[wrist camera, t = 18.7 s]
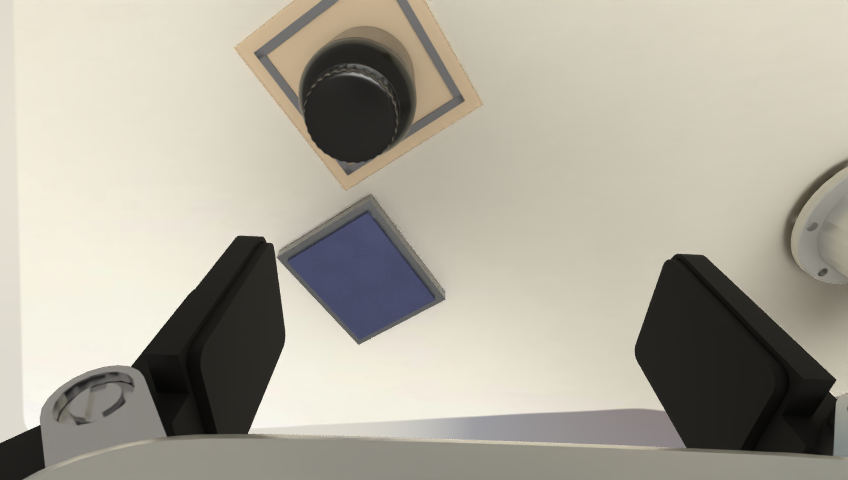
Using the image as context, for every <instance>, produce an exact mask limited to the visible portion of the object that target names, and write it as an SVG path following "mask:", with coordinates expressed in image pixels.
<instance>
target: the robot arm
mask: <svg viewBox="0 0 848 480" xmlns="http://www.w3.org/2000/svg"><path fill="white" fill-rule="evenodd" d="M791 250H792V255H793V257H794V259H795V262H796V263H797V264H798V265H799V267H800V268H801V269H802V270H803V271H805V272H806V273H808V274H809V275H810V276H812V277H813V278H815V279H818V280H820V281H822V282H826V283H831V284H848V167H846V168H844V169H843V170H841V171H839V172H838V173H837V174H835V175H834V176H833V177H831V178H830V179H829V180H828V181H826V182H825V183H824V184H823V185H822V186H821V187H820V188H819V189H818V190H817V191H816V192H815V193H814V194H813V195H812V196H811V198H810V199H809V200H808V202H807V203H806V204H805V205H804V207H803V209H802V210H801V212H800V214H799V216H798V218H797V219H796V222H795V225H794V228H793V231H792V236H791ZM284 343H285V326H284V319H283V311H282V304H281V296H280V289H279V281H278V274H277V266H276V258H275V251H274V246H273V244H272V243H266V240H265V238H264V237H258V236H237V237H236V238H235V240H234V241H233V242H232V243H231V245H230V246H229V247H228V248H227V250H226V251H225V252H224V253H223V255H222V256H221V257H220V258H219V260H218V261H217V262H216V263H215V265H214V266H213V267H212V268H211V270H210V271H209V272H208V274H207V275H206V276H205V277H204V279H203V280H202V281H201V282H200V284H199V285H198V286H197V287H196V289H194V290H193V291H192V292H191V293H190V294H189V295H188V296H187V297H186V299H185V300H184V301H183V302H182V304H181V305H180V306H179V307H178V309H177V310H176V311H175V312H174V314H173V315H172V316H171V317H170V319H169V320H168V321H167V322H166V324H165V325H164V326H163V327H162V329H161V330H160V331H159V332H158V334H157V335H156V336H155V337H154V339H153V340H152V341H151V342H150V344H149V345H148V346H147V347H146V349H145V350H144V351H143V352H142V354H141V355H140V356H139V357H138V359H137V360H136V361H135V362H134V364H133V365H132V366H131V367H129V366H120V365H117V366H108V367H102V368H98V369H95V370H92V371H88V372H86V373H84V374H82V375H79V376H77V377H75V378H73V379H72V380H70V381H68V382H67V383H65V384H64V385H62V386H61V387H59V388H58V389H57V390H56V391H55V392H54V393H53V394H52V395H51V396H50V397H49V398H48V399H47V401H46V403H45V404H44V406H43V407H42V410H41V415H40V424H41V425H39V426H37V427H35V428H33V429H30V430H28V431H26V432H24V433H22V434H19V435H17V436H15V437H13V438H11V439H8V440H6V441H4V442H2V443H0V480H848V393H846V394H844V395H842V396H839V397H838V399H836V398H835V397H834V396H833V395H832V394H831V393H830V392H829V390H830V389H831V387H832V386H833V384H834V383H835V381H836V379H835V378H834V377H833V376H832V375H831V374H830V373H829V372H827V371H826V370H825V369H824V368H823V367H822V366H821V365H820V364H819V363H818V362H817V361H816V360H815V359H814V358H813V357H812V356H810V355H809V354H808V353H807V352H806V351H805V350H804V349H803V348H802V347H801V346H800V345H799V344H798V343H797V342H796V341H795V340H793V339H792V338H791V337H790V336H789V335H788V334H787V333H786V332H785V331H784V330H783V329H782V328H781V327H780V326H779V325H778V324H776V323H775V322H774V321H773V320H772V319H771V318H770V317H769V316H768V315H767V314H766V313H765V312H764V311H763V310H762V309H761V308H759V307H758V306H757V305H756V304H755V303H754V302H753V301H752V300H751V299H750V298H749V297H748V296H747V295H746V294H745V293H744V292H742V291H741V290H740V289H739V288H738V287H737V286H736V285H735V284H734V283H733V282H732V281H731V280H730V279H729V278H728V277H727V276H725V275H724V274H723V273H722V272H721V271H720V270H719V269H718V268H717V267H716V266H715V265H714V264H713V263H712V262H711V261H710V260H708V259H707V258H706V257H705V256H703V255H691V254H676V255H674V256H673V257H672V258H671V260H667V261H666V262H665V263H664V265H663V267H662V270H661V273H660V276H659V279H658V282H657V285H656V288H655V290H654V293H653V296H652V299H651V302H650V305H649V308H648V311H647V313H646V316H645V319H644V322H643V325H642V328H641V331H640V334H639V336H638V339H637V342H636V345H635V356H636V360H637V362H638V364H639V365H640V367H641V369H642V371H643V372H644V374H645V376H646V378H647V379H648V381H649V383H650V385H651V386H652V388H653V390H654V392H655V393H656V395H657V397H658V399H659V400H660V402H661V404H662V406H663V407H664V409H665V411H666V413H667V414H668V416H669V418H670V420H671V421H672V423H673V425H674V427H675V428H676V430H677V432H678V434H679V435H680V437H681V438H682V440H683V442H684V444H685V446H686V447H687V448H671V447H647V446H622V445H597V444H571V443H544V442H514V441H486V440H457V439H426V438H393V437H392V438H390V437H360V436H327V435H326V436H324V435H285V434H248V432H249V429H250V427H251V425H252V422H253V420H254V417H255V415H256V412H257V410H258V408H259V405H260V403H261V400H262V398H263V395H264V393H265V391H266V388H267V386H268V383H269V381H270V378H271V376H272V374H273V371H274V369H275V366H276V364H277V361H278V359H279V357H280V354H281V352H282V349H283V347H284Z"/></svg>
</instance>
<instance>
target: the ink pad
mask: <svg viewBox="0 0 848 480" xmlns="http://www.w3.org/2000/svg"><path fill="white" fill-rule="evenodd" d="M277 258H278V260H279V261H280V262H281V263H282V264H283V265H284V266H285V267H286V268H287V269H288V270H289V271H290V272H291V273H292V274H293V275H294V277H295V278H296V279H297V280H298V281H299V282H300V283H301V284H302V285H303V286H304V287H305V288H306V289H307V290H308V291H309V293H310V294H311V295H312V296H313V297H314V298H315V299H316V300H317V301H318V302H319V303H320V304H321V305H322V306H323V307H324V308H325V310H326V311H327V312H328V313H329V314H330V315H331V316H332V317H333V318H334V319H335V320H336V321H337V322H338V323H339V324H340V325H341V327H342V328H343V329H344V330H345V331H346V332H347V333H348V334H349V335H350V336H351V337H352V338H353V339H354V340H355V341H356V343H357V344H358V345H359V344H361V343H363V342H365V341H367V340H369V339H371V338H372V337H374V336H376V335H378V334H380V333H382V332H384V331H386V330H388V329H390V328H392V327H394V326H395V325H397V324H399V323H401V322H403V321H405V320H407V319H409V318H411V317H413V316H415V315H417V314H418V313H420V312H422V311H424V310H426V309H428V308H430V307H432V306H434V305H436V304H438V303H440V302H441V301H443V300H445V291H444V290H443V289H442V287H441V286H440V285H439V284H438V282H437V281H436V280H435V278H434V277H433V276H432V274H431V273H430V272H429V270H428V269H427V268H426V266H425V265H424V264H423V262H422V261H421V260H420V258H419V257H418V256H417V254H416V253H415V252H414V250H413V249H412V248H411V246H410V245H409V244H408V242H407V241H406V240H405V238H404V237H403V236H402V234H401V233H400V232H399V230H398V229H397V228H396V227H395V225H394V224H393V223H392V221H391V220H390V219H389V217H388V216H387V215H386V213H385V212H384V211H383V209H382V208H381V207H380V205H379V204H378V203H377V201H376V200H375V199H374V197H373V196H372V195H369V196H368V197H366V198H364V199H363V200H361V201H359V202H358V203H356V204H355V205H353V206H351V207H350V208H348V209H346V210H345V211H343V212H342V213H340V214H338V215H337V216H335V217H333V218H332V219H330V220H329V221H327V222H325V223H324V224H322V225H320V226H319V227H317V228H316V229H314V230H312V231H311V232H309V233H308V234H306V235H304V236H303V237H301V238H299V239H298V240H296V241H295V242H293V243H291V244H290V245H288V246H286V247H285V248H283V249H282V250H280V251H279V253H278V255H277Z"/></svg>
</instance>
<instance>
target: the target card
mask: <svg viewBox="0 0 848 480" xmlns="http://www.w3.org/2000/svg"><path fill="white" fill-rule="evenodd" d="M359 26H371V27H376V28H380V29H382V30H385V31H387V32H388V33H390V34H392V35H393V36H394V37H396V38H397V39H398V40H399V41H400V42H401V43H402V45H403V46H404V47H405V49H406V50H407V52H408V54H409V55H410V58H411V60H412V63H413V67H414V73H415V83H416V97H417V104H416V112H415V117H414V120H413V123H412V126H411V128H410V130H409V132H408V133H407V135H406V136H405V137H404V139H403V140H402V141H401V142H400V143H399V144H398V145H397V146H396V147H394V148H393V149H391V150H390V151H388V152H386V153H384V154H382V155H379V156H376V158H375V159H370V160H368V161H367V162H360V163H354V162H353V163H347V162H345V161H343V162H340V161H339V160H337V159H333V158H331V157H330V156H329V155H327V154H324V153H323V151H322V150H321V149H319V148H317V146H316V143H314V142H313V141H312V140H311V136H310V134H309V133H308V132H307V126H306V125H305V122H304V120H303V117H302V115H301V111H300V107H299V100H298V89H299V82H300V78H301V75H302V72H303V70H304V68H305V66H306V65H307V63H308V61H309V60H310V59H311V57H312V56H313V55H314V54H315V53H316V52H317V51H318V50H319V49H320V48H322V47H323V46H324V45H325V44H327V43H328V42H329V41H331V40H332V39H333V38H334V37H336V36H337V35H339V34H340V33H342V32H343V31H345V30H348V29H350V28H354V27H359ZM234 49H235V50H236V51H237V53H238V54H239V55H240V56H241V58H242V59H243V60H244V61H245V63H246V64H247V65H248V67H249V68H250V69H251V70H252V72H253V73H254V74H255V76H256V77H257V78H258V79H259V81H260V82H261V83H262V84H263V86H264V87H265V88H266V90H267V91H268V92H269V93H270V95H271V96H272V97H273V99H274V100H275V101H276V102H277V104H278V105H279V106H280V108H281V109H282V110H283V111H284V113H285V114H286V115H287V116H288V118H289V119H290V120H291V122H292V123H293V124H294V125H295V127H296V128H297V129H298V131H299V132H300V133H301V134H302V136H303V137H304V138H305V139H306V141H307V142H308V143H309V145H310V146H311V147H312V148H313V150H314V151H315V152H316V154H317V155H318V156H319V157H320V159H321V160H322V161H323V163H324V164H325V165H326V166H327V168H328V169H329V170H330V171H331V173H332V174H333V175H334V177H335V178H336V179H337V180H338V182H339V183H340V184H341V186H342V187H343V188H344V189H345V191H346V190H348V189H349V188H351V187H352V186H354V185H356V184H357V183H359V182H360V181H362V180H364V179H365V178H367V177H368V176H370V175H371V174H373V173H375V172H376V171H378V170H379V169H381V168H383V167H384V166H386V165H387V164H389V163H391V162H392V161H394V160H395V159H397V158H398V157H400V156H402V155H403V154H405V153H406V152H408V151H410V150H411V149H413V148H414V147H416V146H418V145H419V144H421V143H422V142H424V141H426V140H427V139H429V138H430V137H432V136H433V135H435V134H437V133H438V132H440V131H441V130H443V129H445V128H446V127H448V126H449V125H451V124H453V123H454V122H456V121H457V120H459V119H460V118H462V117H464V116H465V115H467V114H468V113H470V112H472V111H473V110H475V109H476V108H478V107H480V106H481V105H483V104H482V102H481V100H480V99H479V97H478V95H477V93H476V91H475V90H474V88H473V86H472V84H471V82H470V81H469V79H468V77H467V75H466V73H465V72H464V70H463V68H462V66H461V65H460V63H459V61H458V59H457V57H456V56H455V54H454V52H453V50H452V48H451V47H450V45H449V43H448V41H447V40H446V38H445V36H444V34H443V32H442V31H441V29H440V27H439V25H438V23H437V22H436V20H435V18H434V16H433V14H432V13H431V11H430V9H429V7H428V6H427V4H426V2H425V0H295V1H293V2H292V3H291V4H289V5H288V6H287V7H286V8H284V9H283V10H282V11H280V12H279V13H278V14H277V15H275V16H274V17H273V18H272V19H270V20H269V21H268V22H266V23H265V24H264V25H263V26H261V27H260V28H259V29H257V30H256V31H255V32H254V33H252V34H251V35H250V36H249V37H247V38H246V39H245V40H243V41H242V42H241V43H240V44H238V45H237V46H236V47H234Z"/></svg>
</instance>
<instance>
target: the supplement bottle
mask: <svg viewBox="0 0 848 480" xmlns="http://www.w3.org/2000/svg"><path fill="white" fill-rule="evenodd" d="M298 100H299V107H300V111H301V115H302V117H303V120H304V122H305V125H306V126H307V132H308V133H309V134H310V136H311V140H312V141H313V142H314V143H316V146H317V148H319V149H321V150H322V151H323V153H324V154H327V155H329V156H330V157H331V158H333V159H337V160H339V161H340V162H343V161H345V162H347V163H353V162H354V163H360V162H367V161H368V160H370V159H375V158H376V156H379V155H382V154H384V153H386V152H388V151H390V150H391V149H393V148H394V147H396V146H397V145H398V144H399V143H400V142H401V141H402V140H403V139H404V137H405V136H406V135H407V133H408V132H409V130H410V128H411V126H412V123H413V120H414V117H415V112H416V104H417V97H416V83H415V73H414V67H413V63H412V60H411V58H410V55H409V54H408V52H407V50H406V49H405V47H404V46H403V45H402V43H401V42H400V41H399V40H398V39H397V38H396V37H394V36H393V35H392V34H390V33H388V32H387V31H385V30H382V29H380V28H376V27H371V26H359V27H354V28H350V29H348V30H345V31H343V32H342V33H340V34H339V35H337V36H336V37H334V38H333V39H332V40H331V41H329V42H328V43H327V44H325V45H324V46H323V47H322V48H320V49H319V50H318V51H317V52H316V53H315V54H314V55H313V56H312V57H311V59H310V60H309V61H308V63H307V65H306V66H305V68H304V70H303V72H302V75H301V78H300V82H299V89H298Z"/></svg>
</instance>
